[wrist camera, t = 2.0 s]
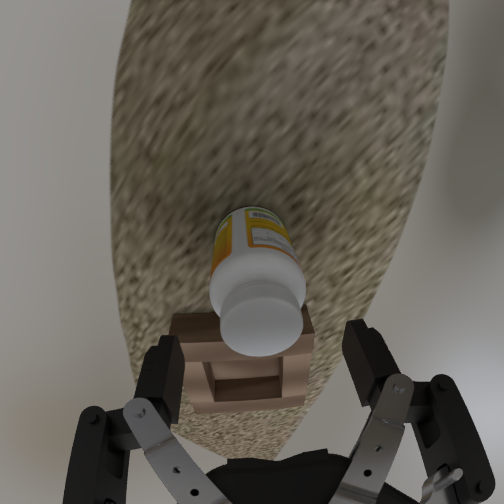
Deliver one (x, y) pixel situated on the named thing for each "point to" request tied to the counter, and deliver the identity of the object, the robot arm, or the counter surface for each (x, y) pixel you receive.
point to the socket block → (240, 368)
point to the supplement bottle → (256, 283)
